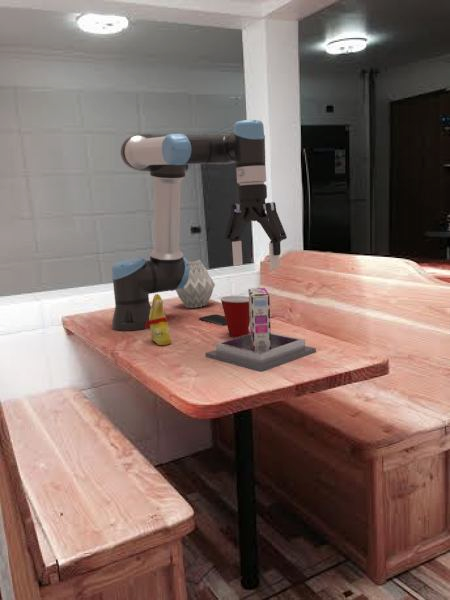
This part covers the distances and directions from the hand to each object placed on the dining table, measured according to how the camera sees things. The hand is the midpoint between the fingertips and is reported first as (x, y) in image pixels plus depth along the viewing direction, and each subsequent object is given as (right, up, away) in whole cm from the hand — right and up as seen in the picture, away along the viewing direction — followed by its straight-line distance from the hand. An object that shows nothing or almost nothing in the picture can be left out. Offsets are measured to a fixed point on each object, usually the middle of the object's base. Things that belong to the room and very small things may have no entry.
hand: (255, 266), depth 140 cm
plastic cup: (-4, -20, +26) cm, 33 cm away
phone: (-10, -17, +47) cm, 51 cm away
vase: (-20, -11, +75) cm, 79 cm away
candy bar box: (+2, -23, +4) cm, 23 cm away
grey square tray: (+2, -23, +4) cm, 24 cm away
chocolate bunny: (-28, -22, +23) cm, 43 cm away
